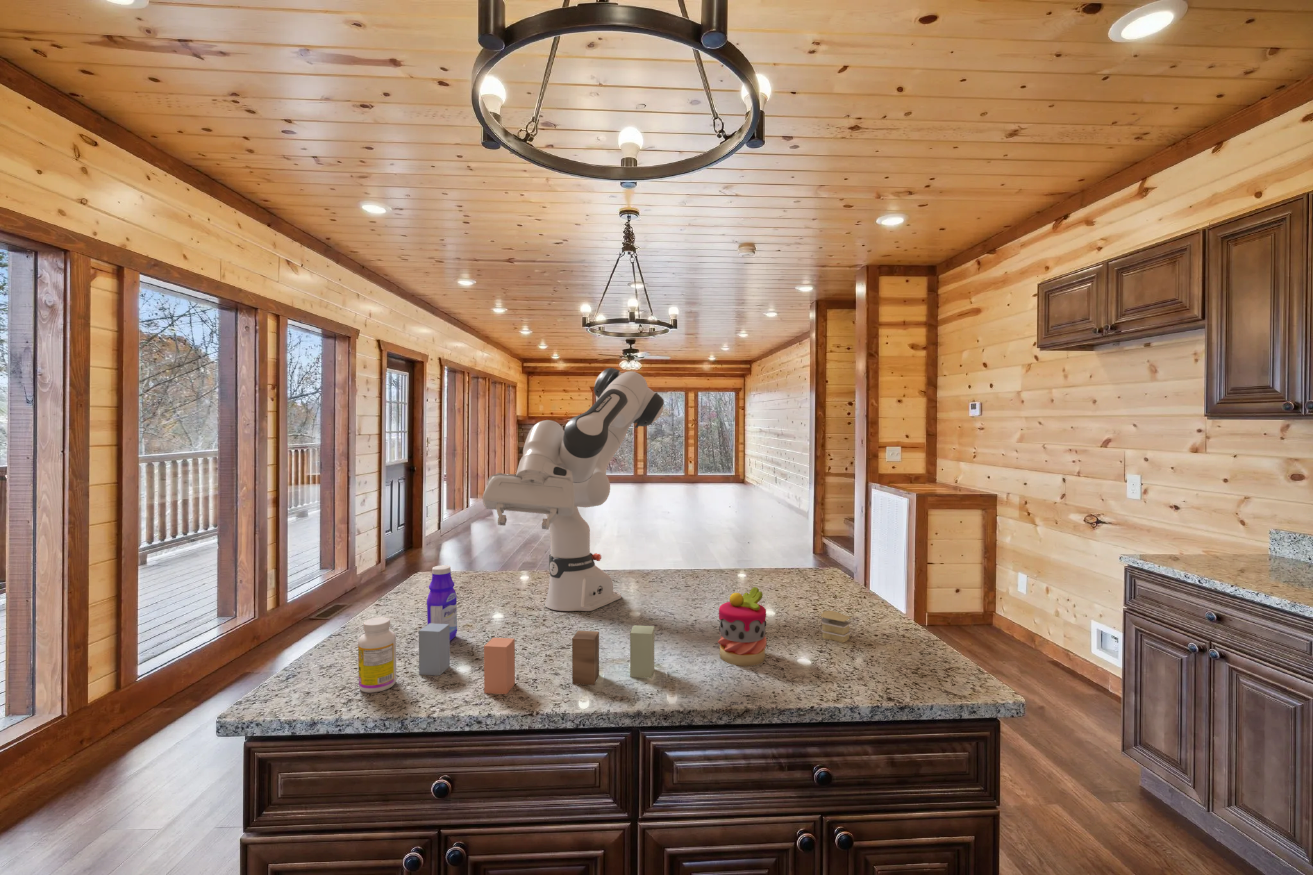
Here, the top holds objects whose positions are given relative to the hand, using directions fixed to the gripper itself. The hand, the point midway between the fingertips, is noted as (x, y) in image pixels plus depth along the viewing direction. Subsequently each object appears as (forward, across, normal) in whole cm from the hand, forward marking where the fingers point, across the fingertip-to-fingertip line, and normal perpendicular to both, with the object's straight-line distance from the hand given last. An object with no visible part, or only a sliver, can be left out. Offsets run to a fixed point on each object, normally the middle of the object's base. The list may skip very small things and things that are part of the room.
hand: (523, 525), depth 125 cm
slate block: (+25, -15, +18) cm, 34 cm away
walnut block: (+27, +17, +13) cm, 34 cm away
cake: (+17, +50, +18) cm, 56 cm away
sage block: (+24, +28, +14) cm, 40 cm away
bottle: (+14, -19, +31) cm, 38 cm away
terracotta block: (+30, +1, +11) cm, 32 cm away
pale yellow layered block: (+8, +74, +24) cm, 79 cm away
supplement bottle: (+31, -23, +14) cm, 41 cm away
